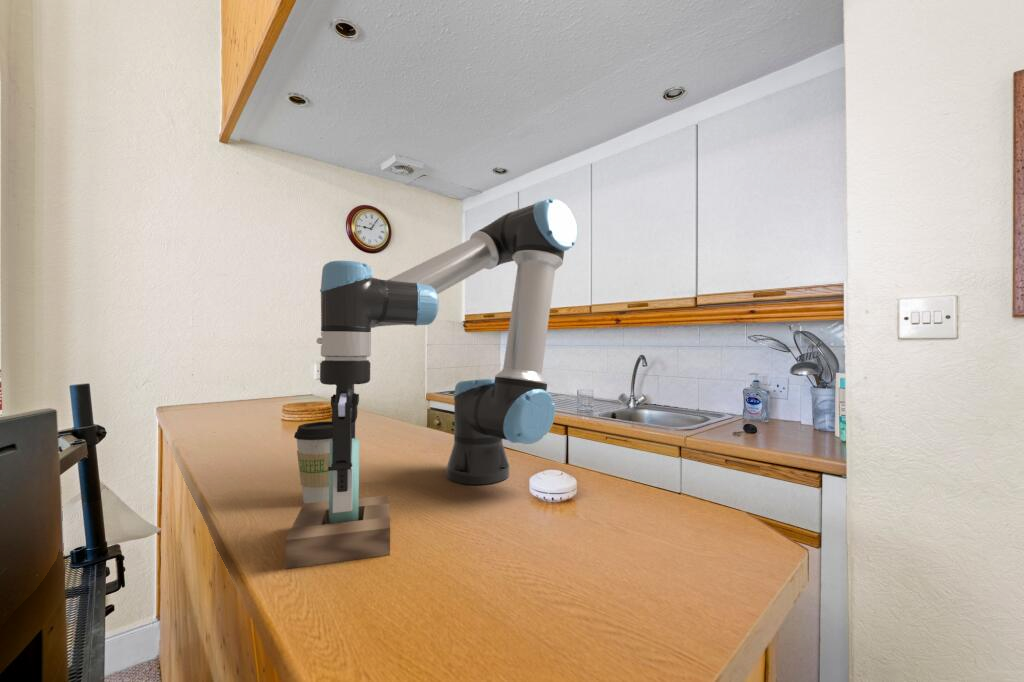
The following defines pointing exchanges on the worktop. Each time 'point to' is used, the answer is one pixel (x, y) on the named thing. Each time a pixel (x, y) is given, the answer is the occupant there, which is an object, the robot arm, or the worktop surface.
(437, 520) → the worktop surface
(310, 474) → the coffee cup
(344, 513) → the peg
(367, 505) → the socket block
